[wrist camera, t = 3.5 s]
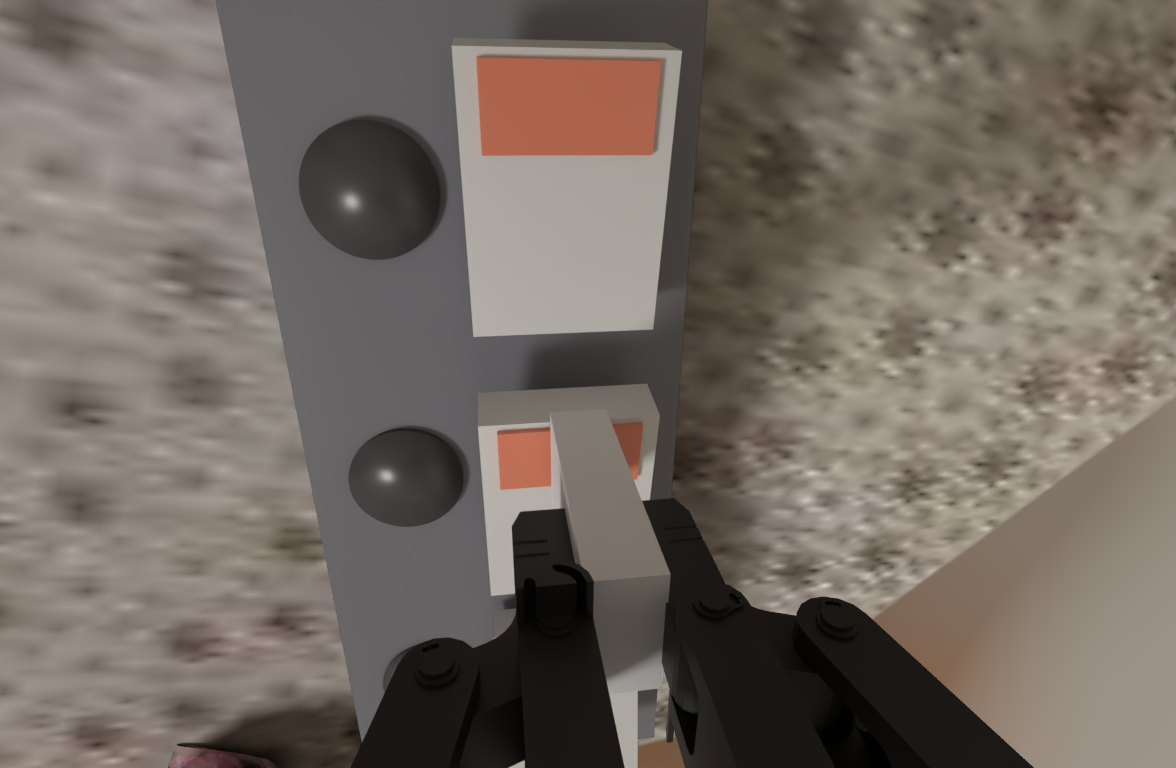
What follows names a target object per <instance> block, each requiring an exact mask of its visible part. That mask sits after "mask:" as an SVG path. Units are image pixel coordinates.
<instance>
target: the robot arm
mask: <svg viewBox="0 0 1176 768" xmlns="http://www.w3.org/2000/svg"><path fill="white" fill-rule="evenodd" d="M550 441H551V498H552V505H553V509H548V510H535V511H522V512H520V513H519V515H518V516H517V518H516V520H515V521H514V523H513V525H512V544H513V565H514V584H515V602H516V614H515V617H514V619H513V621H512V624H511V625H510V626H509V627H508V628H507V630H506V631H505V632H504V633H502V634H501V635H500V636H498V637H497V638H495V639H493V640H491V641H489V642H487V643H485V644H482V645H480V646H477V647H475V648H472V647H471V646H469V645H468V644H467V643H465V642H464V641H462V640H458V639H454V638H450V637H447V638H434V639H431V640H428V641H426V642H423V643H420V644H418V645H417V646H415V647H414V648H413V649H411V650H410V651H408V652H407V653H406V654H405V655H404V657H403V658H402V659H401V661H400V662H399V664H398V665H397V667H396V669H395V671H394V674H393V676H392V678H391V680H390V682H389V685H388V687H387V689H386V691H385V693H384V696H383V698H382V700H381V702H380V704H379V707H378V709H377V711H376V713H375V715H374V718H373V720H372V722H371V724H370V726H369V728H368V731H367V733H366V735H365V737H364V739H363V742H362V744H361V746H360V748H359V750H358V753H357V755H356V757H355V759H354V761H353V764H352V766H351V768H509V767H511V766H513V765H515V764H517V763H519V762H521V761H524V762H525V768H625V767H624V762H623V757H622V753H621V748H620V743H619V738H618V734H617V729H616V724H615V719H614V715H613V710H612V705H611V700H610V696H609V694H616V693H625V692H633V691H642V690H650V689H659V688H662V679H663V668H664V672H665V675H666V678H667V681H668V684H669V688H670V691H669V703H668V715H667V726H666V737H667V743H668V742H673V733H674V731H675V734H676V738H677V741H678V745H679V748H680V751H681V755H682V758H683V762H684V765H685V768H1033V767H1032V766H1031V765H1030V764H1029V763H1028V762H1027V761H1026V760H1025V759H1023V758H1022V756H1020V755H1019V754H1018V753H1017V752H1016V751H1015V750H1014V749H1013V748H1012V747H1010V746H1009V745H1008V744H1007V743H1006V742H1005V741H1004V740H1003V739H1002V738H1001V737H1000V736H999V735H997V734H996V733H995V732H994V731H993V730H992V729H991V728H990V727H989V726H988V725H987V724H986V723H985V722H983V721H982V720H981V719H980V718H979V717H978V716H977V715H976V714H975V713H974V712H973V711H971V710H970V709H969V708H968V707H967V706H966V705H965V704H964V703H963V702H962V701H960V700H959V699H958V698H957V697H956V696H955V695H954V694H953V693H952V692H951V691H949V689H947V688H946V687H945V686H944V685H943V684H942V683H941V682H940V681H939V680H937V678H936V677H934V676H933V675H932V674H931V673H930V672H929V671H928V670H927V669H926V668H925V667H923V666H922V665H921V664H920V663H919V662H918V661H917V660H916V659H915V658H914V657H912V655H910V654H909V653H908V652H907V651H906V650H905V649H904V648H903V647H902V646H901V645H899V644H898V643H897V642H896V641H895V640H894V639H893V638H892V637H891V636H890V635H889V634H888V633H886V632H885V631H884V630H883V629H882V628H881V627H880V626H879V625H878V624H877V623H876V622H875V621H873V620H872V619H871V618H870V617H869V616H868V615H867V614H866V613H864V612H863V611H862V610H860V609H859V608H857V607H856V606H854V605H853V604H850V603H848V602H845V601H843V600H840V599H836V598H829V597H818V598H811V599H809V600H807V601H806V602H804V603H802V604H801V606H800V608H799V610H798V611H797V615H796V616H795V615H788V614H781V613H775V612H769V611H764V610H760V609H757V608H755V607H752V606H751V605H750V604H749V602H748V601H747V599H746V598H745V597H744V596H743V594H742V593H741V592H739V591H737V590H736V589H734V588H733V587H731V586H729V585H726V584H725V582H724V580H723V578H722V576H721V574H720V572H719V570H718V568H717V566H716V564H715V562H714V560H713V558H712V556H711V554H710V552H709V550H708V548H707V546H706V544H705V542H704V541H703V540H702V536H701V534H700V532H699V530H698V528H696V524H695V522H694V520H693V518H692V516H691V514H690V512H689V510H688V509H686V508H685V507H684V506H683V505H681V504H680V503H679V502H678V501H676V500H675V499H674V498H671V499H658V500H645V501H642V500H641V497H640V495H639V492H638V490H637V487H636V485H635V482H634V479H633V477H632V474H631V472H630V469H629V467H628V464H627V462H626V459H625V456H624V454H623V451H622V449H621V446H620V444H619V441H618V438H617V436H616V433H615V431H614V428H613V426H612V423H611V421H610V418H609V415H608V413H607V410H606V409H596V410H579V411H561V412H550Z"/></svg>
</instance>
